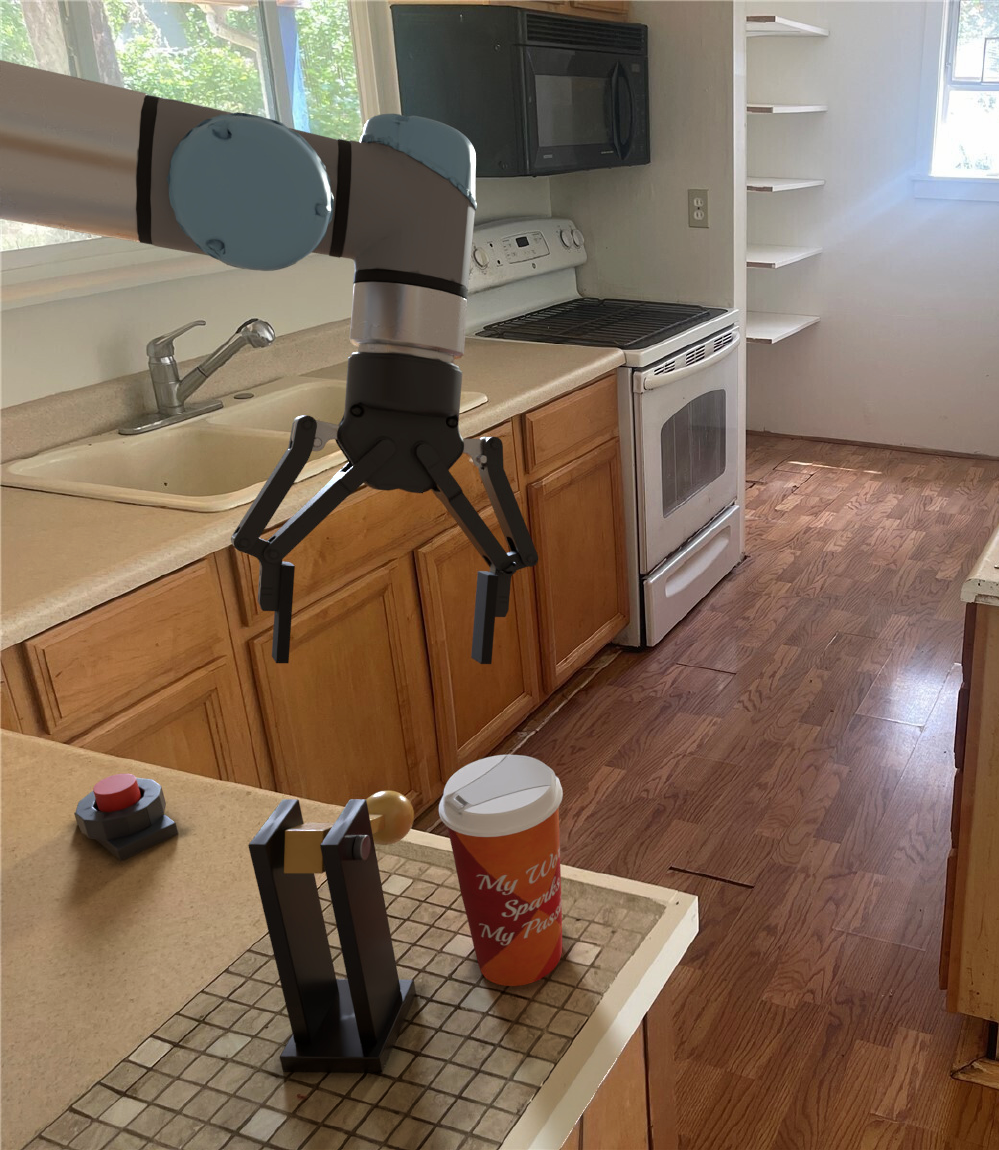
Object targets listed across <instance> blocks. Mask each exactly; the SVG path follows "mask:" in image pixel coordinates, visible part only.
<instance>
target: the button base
mask: <svg viewBox="0 0 999 1150" xmlns="http://www.w3.org/2000/svg"><path fill="white" fill-rule="evenodd" d="M136 780H137V783H138V787H139V790H140V794H141V799H140V800H139V801H138V802H137V803H136V804H134V805H132V806H130V807H128V808H125V809H122V810H117V811H113V812H101V811H100V810H99V809H98V806H97V802H96V799H95V796H94V792H93V790H91V791H90V792H89V793H88V794H87V795H85V796H84V797H83V798H81V799H80V800H79V801H78V803H77V806H76V809H75V811H74V813H73V815H74V818H75V821H76V824H77V826H78V827H79V830H80V832H81V833H82V834H83V835H84V836H86V838H88V839H89V840H95V841H96V842H98V843H99V844H100V845H101V846H102V847H104V848H105V849H106V850H107V851H108V852H109V853H110V854H112V855H113V856H114V857H115V858H116V859H118V860H119V861H120V862H123V861H125V860H127V859H129V858H132V857H133V856H136V855H138V854H140V853H142V852H144V851H146V850H148V849H150V848H152V847H155V846H157V845H159V844H161V843H163V842H165V841H167V840H169V839H171V838H173V837H175V836H177V835H179V831H178V826H177V823H176V822H175V821H174V820H172V819H171V818H170V817H169V816H167V815H166V814H165V812H166V806H167V802H166V799H165V795H164V790H163V787H162V785H161V784H160V783H158V782H156V781H155V780H154V779H152V778H143V777H141V778H140V777H136Z"/></svg>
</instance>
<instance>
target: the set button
mask: <svg viewBox="0 0 999 1150" xmlns="http://www.w3.org/2000/svg"><path fill="white" fill-rule="evenodd" d="M136 778H137V777H136V775H134V774H132V773H116V774H113V775H112V774H111V775H109V776H106V777H104V778H102V779H101V780H99V781H98V782H96V783H95V784H94V785H93V788H92V791H93V792H94V796H95V799H96V802H97V806H98V809H99V810H100V811H101V812H113V811H117V810H122V809H125V808H128V807H130V806H132V805H134V804H136V803H137V802H138V801H139V800H140V799H141V794H140V790H139V787H138V783H137V780H136Z"/></svg>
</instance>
